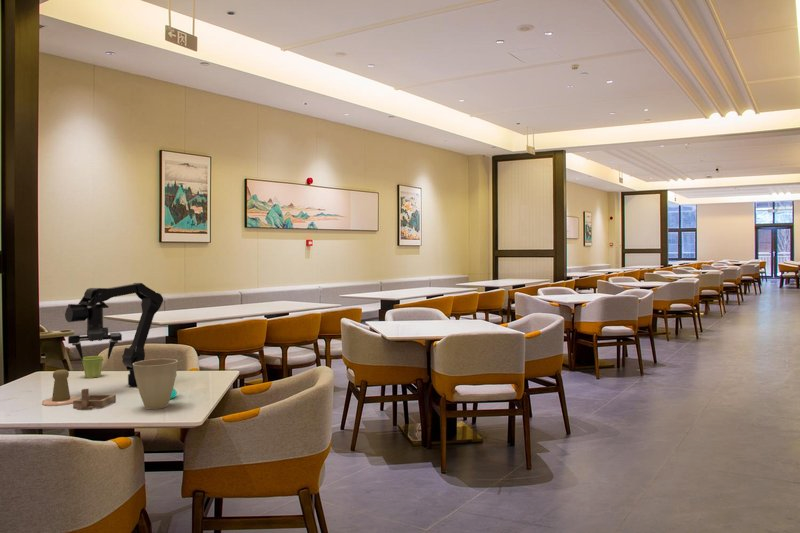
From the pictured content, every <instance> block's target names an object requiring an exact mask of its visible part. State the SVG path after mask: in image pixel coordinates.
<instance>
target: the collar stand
mask: <svg viewBox="0 0 800 533" xmlns="http://www.w3.org/2000/svg"><path fill="white" fill-rule="evenodd" d="M116 402H117V395H116V394H89V388H82V389H81V397H79V399H77V400H75V401H73V403H72V406H73V407H72V408H73V409H76V410H77V411H79V410H80V411H82V410H83V411H85V410H86V411H92V410H94V409H103V408H106V407H107V406H110V405H112V404H115V403H116Z"/></svg>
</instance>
